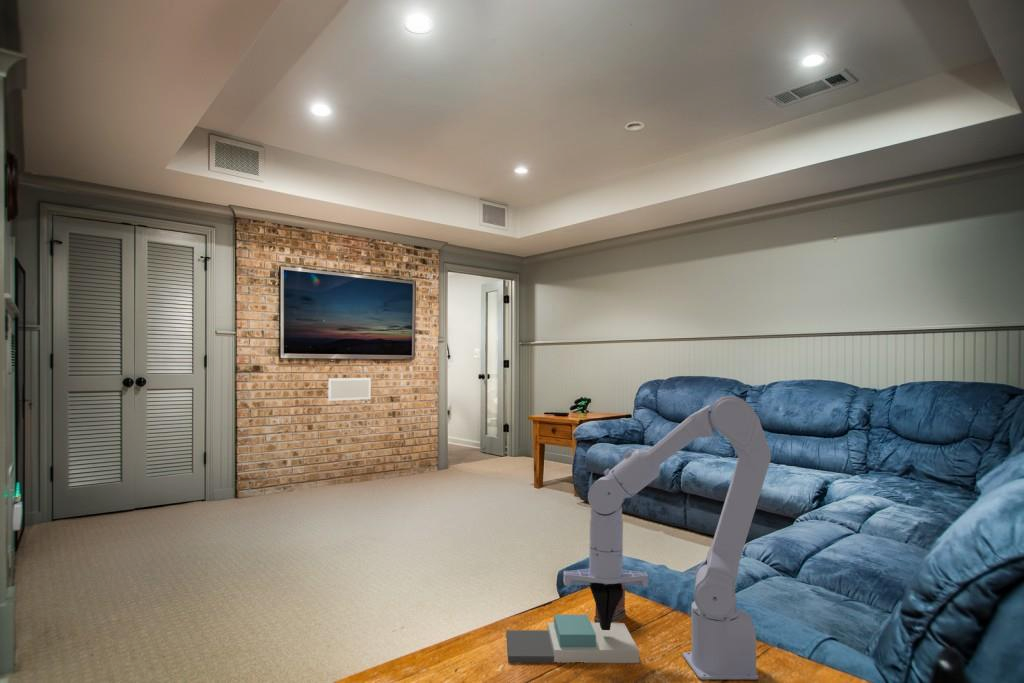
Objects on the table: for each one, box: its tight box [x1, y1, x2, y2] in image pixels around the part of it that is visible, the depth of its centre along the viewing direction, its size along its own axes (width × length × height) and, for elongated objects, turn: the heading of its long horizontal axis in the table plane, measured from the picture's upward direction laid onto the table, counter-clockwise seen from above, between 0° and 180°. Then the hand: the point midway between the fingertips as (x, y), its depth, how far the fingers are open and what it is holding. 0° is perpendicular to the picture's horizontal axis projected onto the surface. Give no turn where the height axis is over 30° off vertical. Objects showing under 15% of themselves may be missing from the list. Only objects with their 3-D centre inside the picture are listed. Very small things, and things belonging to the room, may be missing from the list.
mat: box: [505, 629, 554, 664], centre depth 96 cm, size 8×10×1 cm
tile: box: [553, 614, 596, 647], centre depth 97 cm, size 6×8×2 cm
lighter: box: [593, 585, 627, 623], centre depth 110 cm, size 8×3×10 cm, turn 133°
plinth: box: [546, 621, 640, 664], centre depth 97 cm, size 14×10×2 cm
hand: (604, 627), depth 97 cm, fingers closed
